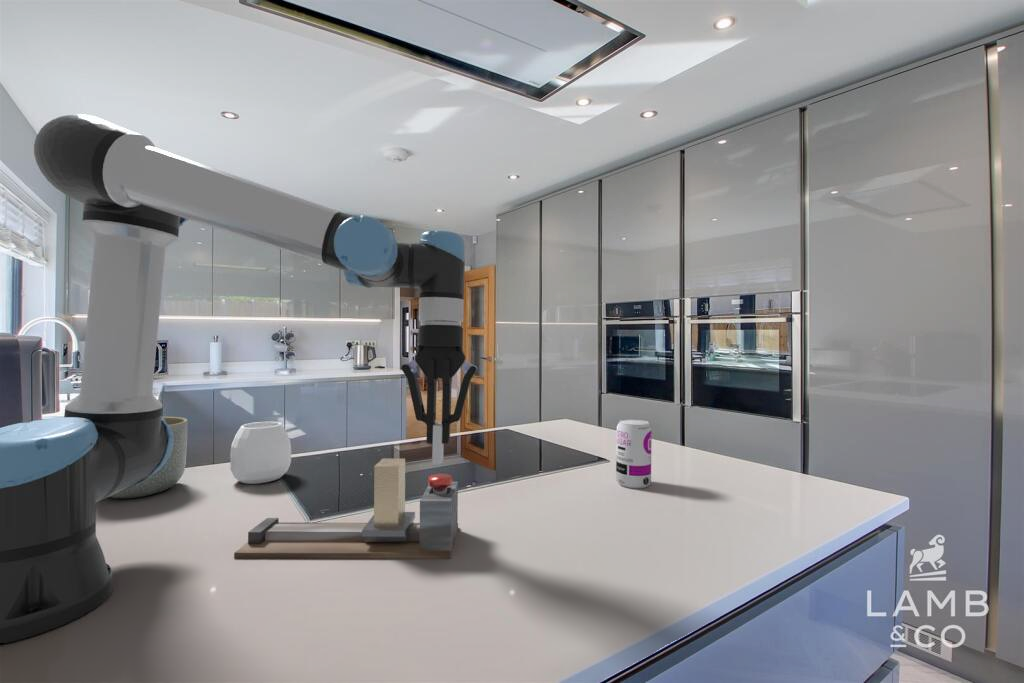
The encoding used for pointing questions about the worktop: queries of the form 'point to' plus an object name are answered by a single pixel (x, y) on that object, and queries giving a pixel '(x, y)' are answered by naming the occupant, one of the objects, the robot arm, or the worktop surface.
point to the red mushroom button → (440, 483)
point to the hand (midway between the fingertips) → (437, 462)
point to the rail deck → (338, 549)
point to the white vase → (260, 452)
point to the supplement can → (633, 453)
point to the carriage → (389, 504)
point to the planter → (169, 470)
